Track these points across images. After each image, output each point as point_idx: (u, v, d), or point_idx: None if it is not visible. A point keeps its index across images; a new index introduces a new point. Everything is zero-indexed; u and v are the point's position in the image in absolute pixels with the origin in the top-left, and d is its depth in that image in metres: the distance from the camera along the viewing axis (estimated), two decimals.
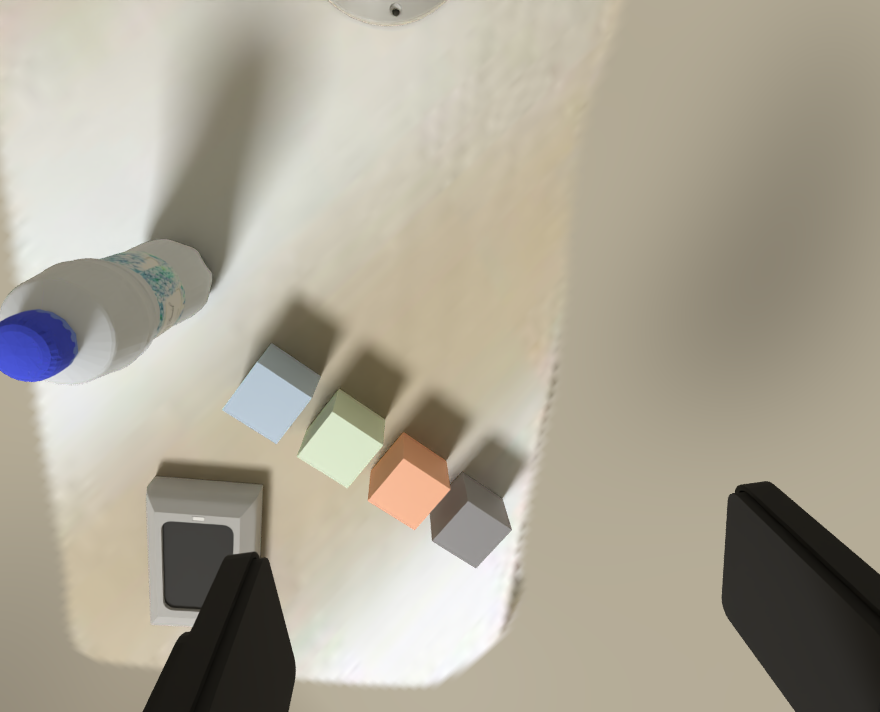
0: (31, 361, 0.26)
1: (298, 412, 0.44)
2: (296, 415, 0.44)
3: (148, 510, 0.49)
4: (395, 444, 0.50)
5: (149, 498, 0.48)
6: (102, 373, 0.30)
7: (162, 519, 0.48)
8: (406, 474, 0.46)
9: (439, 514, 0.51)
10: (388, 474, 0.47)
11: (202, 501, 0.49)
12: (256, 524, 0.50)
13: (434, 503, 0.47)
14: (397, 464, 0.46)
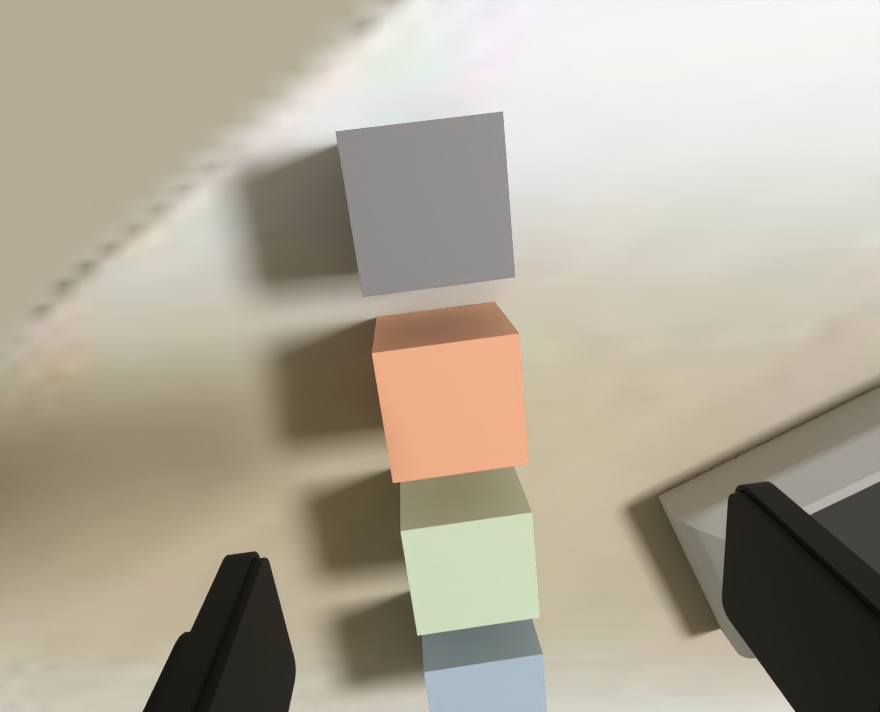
0: None
1: (463, 669, 0.23)
2: (470, 667, 0.23)
3: None
4: None
5: None
6: None
7: None
8: (417, 452, 0.20)
9: None
10: (448, 472, 0.20)
11: None
12: None
13: (428, 353, 0.19)
14: (416, 477, 0.20)
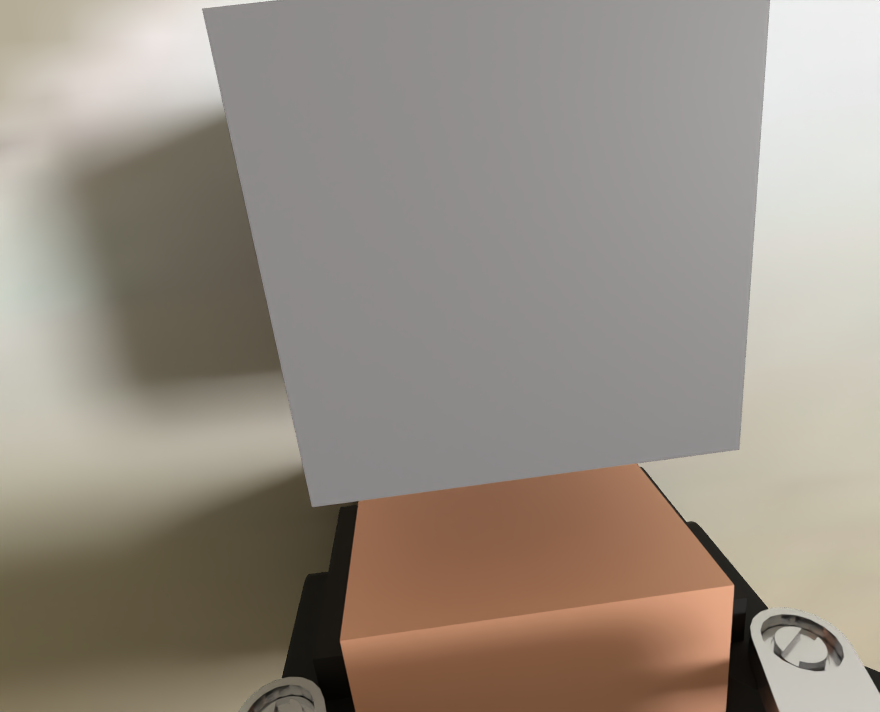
0: None
1: None
2: None
3: None
4: None
5: None
6: None
7: None
8: None
9: None
10: None
11: None
12: None
13: (492, 635, 0.07)
14: None
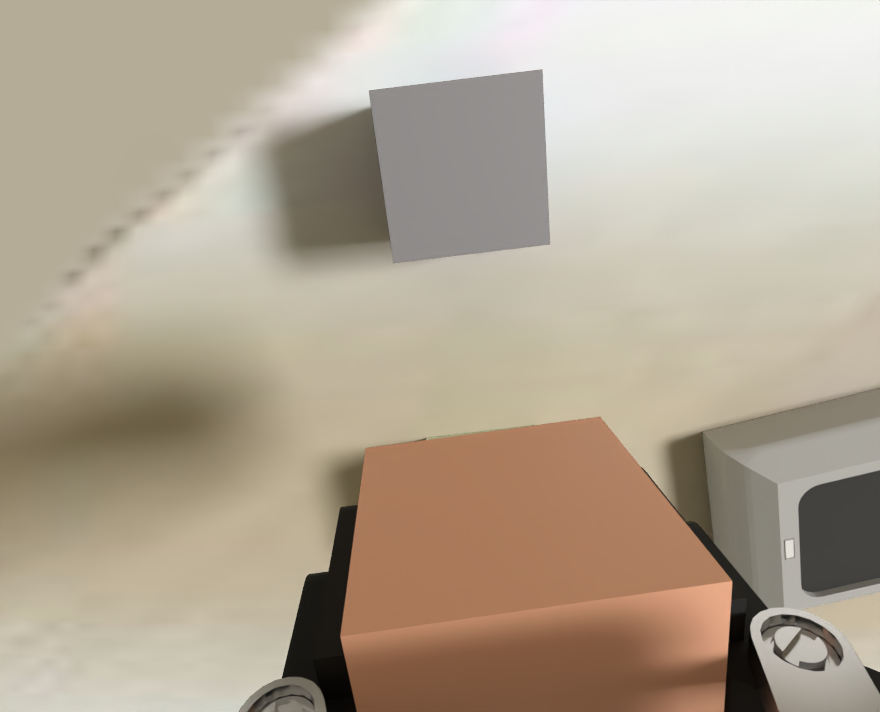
0: None
1: None
2: None
3: None
4: None
5: None
6: None
7: (799, 598, 0.25)
8: None
9: None
10: None
11: (750, 543, 0.25)
12: (792, 437, 0.24)
13: (491, 631, 0.07)
14: None
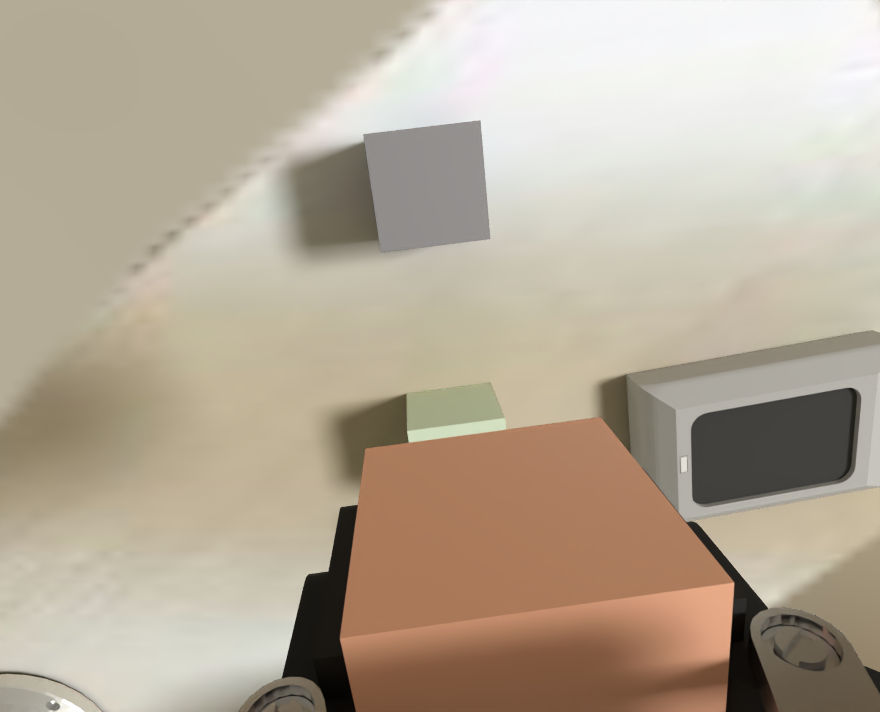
0: None
1: None
2: None
3: None
4: None
5: None
6: None
7: (690, 507, 0.33)
8: None
9: None
10: None
11: (656, 460, 0.32)
12: (690, 378, 0.31)
13: (492, 633, 0.07)
14: None
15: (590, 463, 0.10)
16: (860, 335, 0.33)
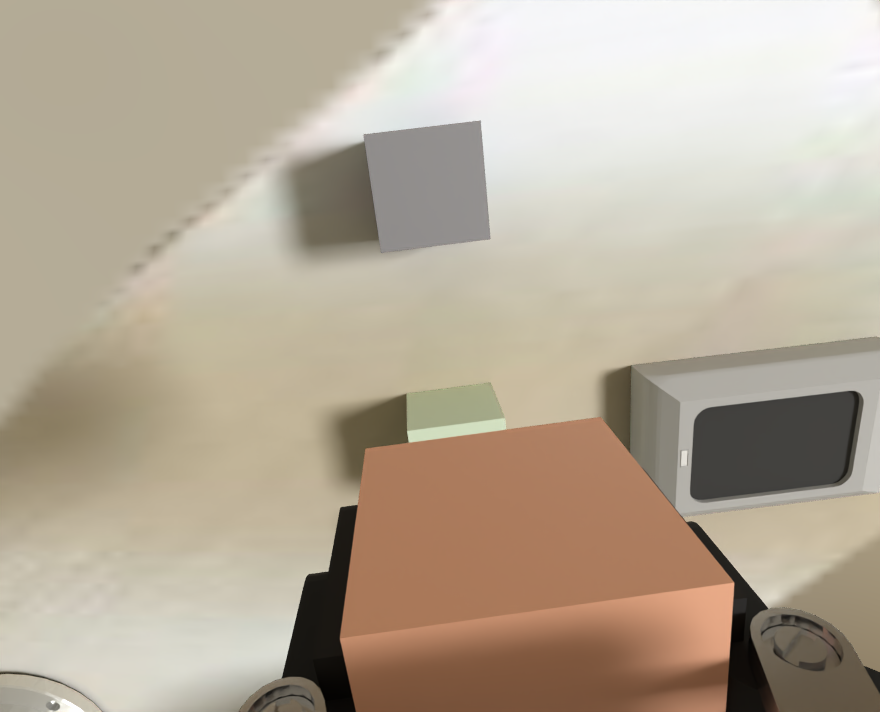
0: None
1: None
2: None
3: None
4: None
5: None
6: None
7: (687, 502, 0.33)
8: None
9: None
10: None
11: (656, 453, 0.32)
12: (695, 371, 0.31)
13: (492, 633, 0.07)
14: None
15: (590, 463, 0.10)
16: (865, 340, 0.33)
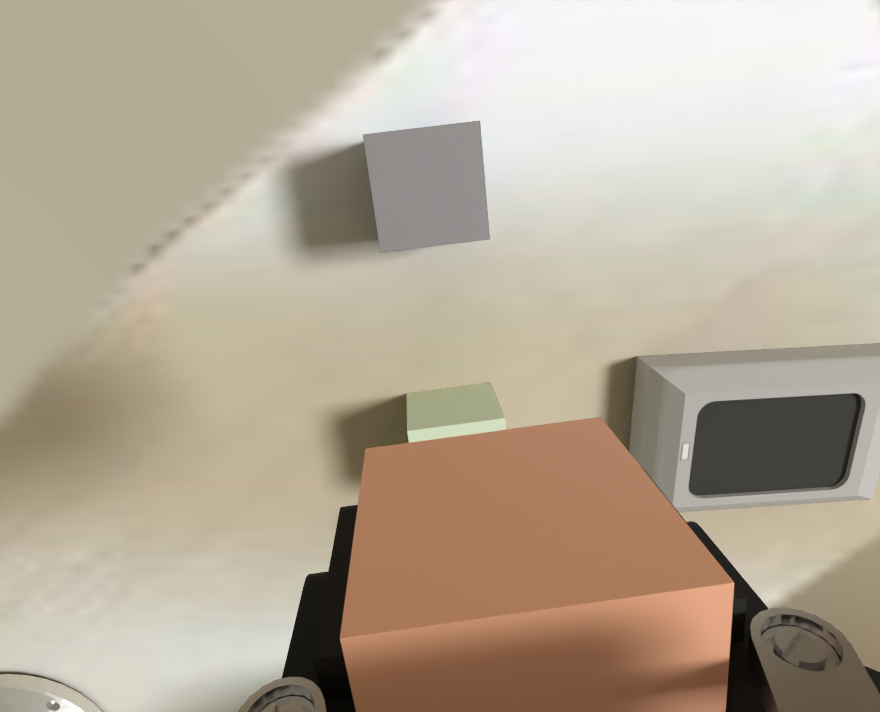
0: None
1: None
2: None
3: None
4: None
5: None
6: None
7: (685, 496, 0.32)
8: None
9: None
10: None
11: (657, 445, 0.32)
12: (702, 365, 0.31)
13: (492, 633, 0.07)
14: None
15: (590, 463, 0.10)
16: (868, 346, 0.33)
